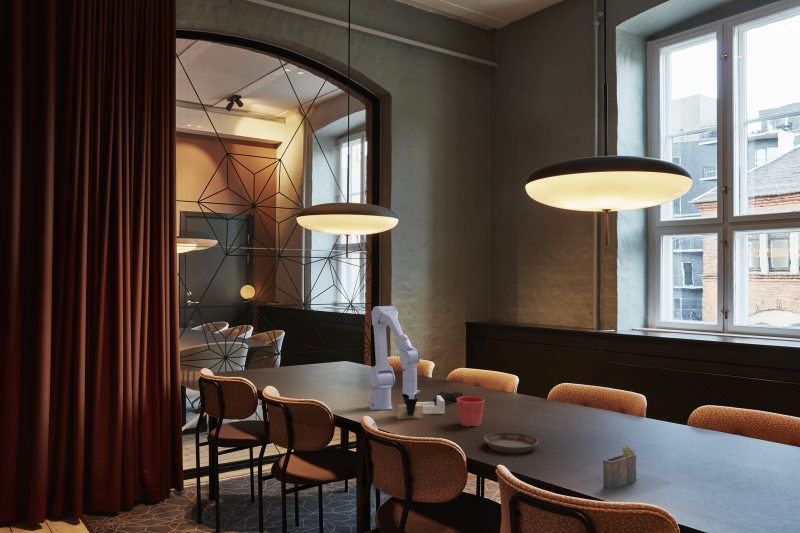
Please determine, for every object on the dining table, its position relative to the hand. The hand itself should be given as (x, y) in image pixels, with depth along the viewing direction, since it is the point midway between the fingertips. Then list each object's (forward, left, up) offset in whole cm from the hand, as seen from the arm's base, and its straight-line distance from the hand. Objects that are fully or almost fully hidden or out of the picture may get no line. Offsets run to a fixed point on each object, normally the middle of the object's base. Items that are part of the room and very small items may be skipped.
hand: (409, 413), depth 247 cm
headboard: (+8, +11, -1) cm, 14 cm away
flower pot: (+22, -14, -2) cm, 26 cm away
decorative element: (+20, +25, -2) cm, 32 cm away
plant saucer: (+29, -46, -2) cm, 54 cm away
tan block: (0, 0, -2) cm, 2 cm away
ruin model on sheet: (+49, -84, -2) cm, 97 cm away
